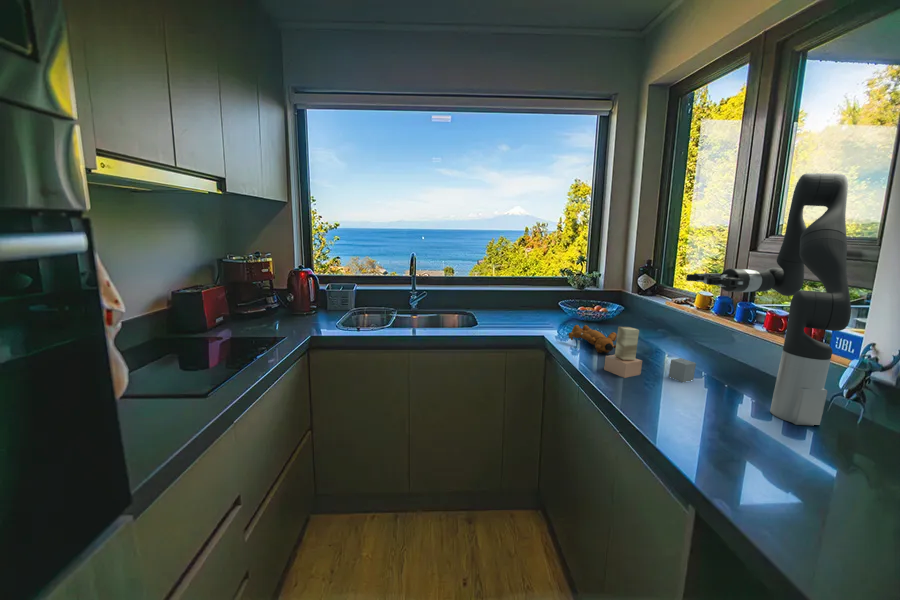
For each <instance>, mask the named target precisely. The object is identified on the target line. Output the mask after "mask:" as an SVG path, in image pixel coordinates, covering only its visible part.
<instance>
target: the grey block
mask: <svg viewBox="0 0 900 600" xmlns="http://www.w3.org/2000/svg"><path fill="white" fill-rule="evenodd" d="M696 366H697V362H694V361H691V360H688V359H685V358H681V357H680V358H673V359H671V360H670V365H669V370H668V378H669V377H671V378H670V379H672V378H674V379H673V380H675V379H676V380H675V381H677V380H678V381H677V382H680V381H681V383H682V382H684V383H687V382H686V381H690V382H692V381H691V380H693V381H694V378H695V372H696Z"/></svg>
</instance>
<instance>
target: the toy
mask: <svg viewBox="0 0 900 600" xmlns="http://www.w3.org/2000/svg"><path fill="white" fill-rule="evenodd" d="M568 338H569V339H570V340H571V341H573V340H574V338H577V339H579V338H580V339H582V340H585V341H586V342H588V343H589V344H590V345H593V346H594V347H595V350H596V352H597V353H600V354H601V353H602V354H607V353H610V352H611V351H613V349H616V344H614V342H616V341H617V333H616V332H614V331H612V332H611V333H610V334H608V336H607V337H606V336H605V334H604V333H602V332H600V331H598V330H596V329H592V328H590V327H589V326H588V325H587V324H584V325H583V326H582V328H581V327H580V325H578V324H576V325H573V328H572V329H571V332H568Z"/></svg>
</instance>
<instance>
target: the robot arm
mask: <svg viewBox="0 0 900 600" xmlns="http://www.w3.org/2000/svg"><path fill="white" fill-rule="evenodd" d="M848 191H849V180H848V177H847V176H846V175H845V174H842V173H833V172H832V173H831V172H830V173H828V172H827V173H821V172H819V173H818V172H806V173H804V174H802V175H801V176H800V177H799V178H798V179H797V182H796V185H795V187H794V191H793V193H792V198H791V203H790V208H789V211H788V217H787V222H786V228H785V233H784V237H783V240H782V244H781V247H780V248H779V252H778V255H777V257H776V263H777V265H778V266H779V267H770V268H766V269H763V270H755V269H754V270H753V269H748V268H727V269H725V270H723V271H722V272H721V273H718V272H717V273H716V272H715V273H710V272H706V273H705V272H704V273H697V272H694V273H693V274H691V273H687V275H686V278H685V279H686V280H685V281H687V282H697V283H698V282H699V283H703V284H705V285H708V286H718V287H720V288H721V289H722V290H723V291H725V292H728V293H731V292H732V293H750V292H767V291H770V290H771V289H772V291H773V290H774V291H775V292H777V293H778V294H780V295H782V296H785V297H791V296H792V297H791V299H790V300H791V301H790V304H789V311H788V320H787V326H786V332H785V337H784V342H783V347H782V352H781V357H780V361H779V366H778V371H777V375H776V379H775V384H774V385H775V386H774V390H773V394H772V400H771V405H770V409H769V412H770V413H771V414H772V415H773V416H775V417H777V418H779V419H780V420H784V421H786V422H789V423H792V424H794V425H796V426H814V425H821V422H822V419H823V418H822V417H823V413H824V408H825V404H826V401H827V400H826V399H827V396H828V390H827V389H825V386H826V381H827V377H828V373H829V369H830V366H831V365H830V364H831V359H832V355H833V347H832V346H830V345H829V344H826V343H824V342H822V341H819V340H817V339H816V338H815V339H814V338H813V337H811V336H810V335H809V334H808V333H806V332H805V328H808V329H815V330H823V331H832V332H833V331H834V332H839V331H843V330H845V329H846V328H847V327H848V325H849V323H850V321H851V314H852V303H851V295H850V289H849V283H848V274H847V256H848V255H847V253H848V252H847V251H848V238H847V226H846V223H847V222H846V214H847V213H846V212H847V211H846V210H847V201H848ZM806 206H807V207H808V206H809V207H826V208H827V209H826V211H825V212H824V213H822V215H820V216H819V217H818V218H816V220H814V221H813V222H812V223H810V225H808V226H807V225H806V223H805V222H806V221H805V220H804V208H805V207H806ZM805 267H806V268H807V269H808V271H810V272H812V274H813V275H814V276H815V277H816V278H817V279H818V280H819V281H820V282H821V283H822V285H823V287H824V289H825V292H824V291H817V290H816V291H814V290H804V289H802V288H803V286H804V282H805ZM801 289H802V290H801Z"/></svg>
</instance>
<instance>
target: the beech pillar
mask: <svg viewBox="0 0 900 600" xmlns="http://www.w3.org/2000/svg"><path fill="white" fill-rule="evenodd" d="M616 334H617V338H616V341H615V342H616V343H615V345H616V348H615V351H614V355H615V356H616V357H618V358H620V359H622V360H635V358H636V356H637V349H638V341H639V334H640V329H638V328H635V327H631V326H618V327H617V333H616ZM636 359H637V358H636Z"/></svg>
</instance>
